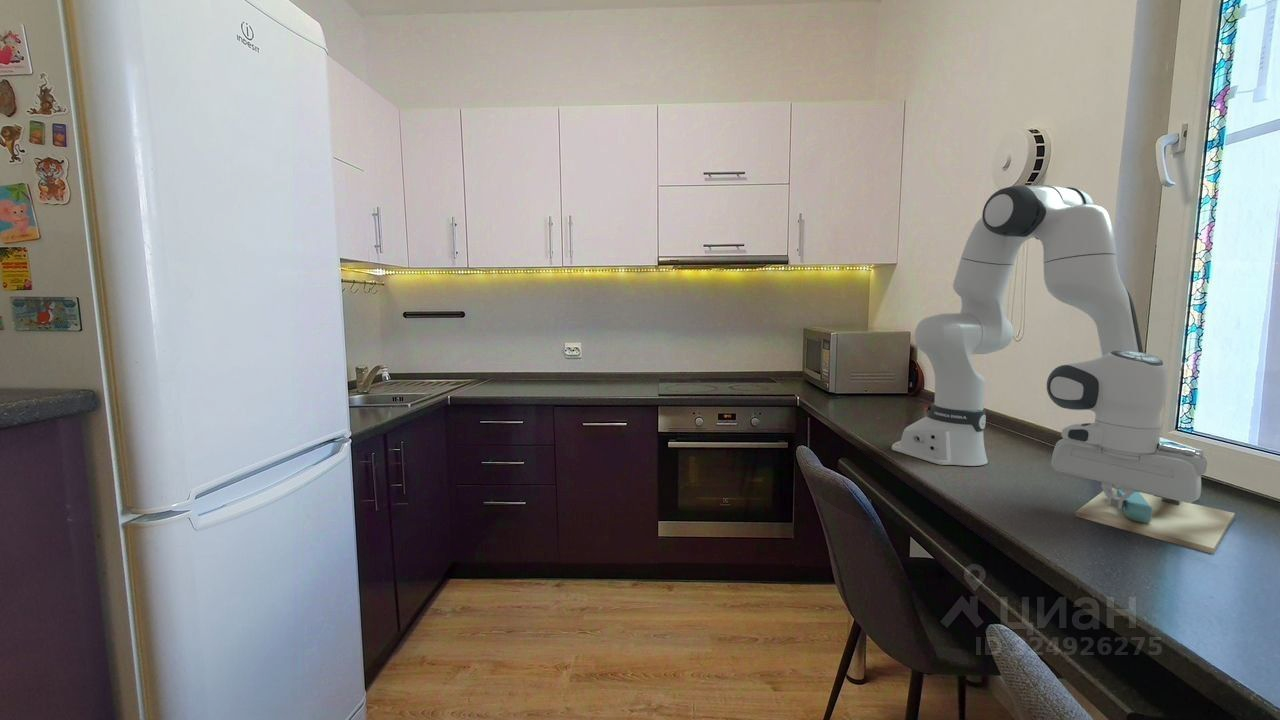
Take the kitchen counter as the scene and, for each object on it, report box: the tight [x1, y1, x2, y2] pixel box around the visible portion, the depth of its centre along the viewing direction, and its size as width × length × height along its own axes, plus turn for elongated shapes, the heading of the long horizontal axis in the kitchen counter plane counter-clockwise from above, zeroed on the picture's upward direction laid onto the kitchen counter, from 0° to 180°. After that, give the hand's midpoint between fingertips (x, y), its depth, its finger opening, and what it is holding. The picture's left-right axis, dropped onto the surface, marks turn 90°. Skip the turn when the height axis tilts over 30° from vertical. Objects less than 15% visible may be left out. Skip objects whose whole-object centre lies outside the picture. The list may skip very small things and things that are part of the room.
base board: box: [1074, 488, 1235, 555], centre depth 93 cm, size 18×24×4 cm
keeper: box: [1154, 495, 1182, 505], centre depth 95 cm, size 2×12×5 cm, turn 124°
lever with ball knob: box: [1113, 485, 1152, 523], centre depth 94 cm, size 15×4×3 cm, turn 145°
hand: (1115, 506), depth 93 cm, fingers closed
